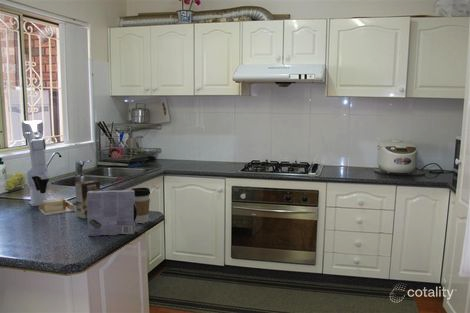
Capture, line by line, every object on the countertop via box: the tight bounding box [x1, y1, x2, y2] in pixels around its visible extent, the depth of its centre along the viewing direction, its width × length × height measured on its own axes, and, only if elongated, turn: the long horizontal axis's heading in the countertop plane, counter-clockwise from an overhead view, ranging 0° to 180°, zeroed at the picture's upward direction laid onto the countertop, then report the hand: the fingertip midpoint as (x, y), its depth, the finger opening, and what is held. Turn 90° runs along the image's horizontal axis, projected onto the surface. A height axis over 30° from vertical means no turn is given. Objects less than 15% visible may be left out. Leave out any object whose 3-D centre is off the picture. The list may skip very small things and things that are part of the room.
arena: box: [38, 199, 75, 216], centre depth 200 cm, size 12×13×3 cm
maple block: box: [43, 197, 66, 212], centre depth 199 cm, size 5×9×4 cm, turn 128°
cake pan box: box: [86, 189, 137, 237], centre depth 164 cm, size 19×5×18 cm, turn 99°
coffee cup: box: [131, 187, 151, 224], centre depth 180 cm, size 8×8×15 cm
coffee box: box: [74, 179, 101, 219], centre depth 190 cm, size 9×6×16 cm
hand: (41, 191), depth 198 cm, fingers open, 7 cm apart
